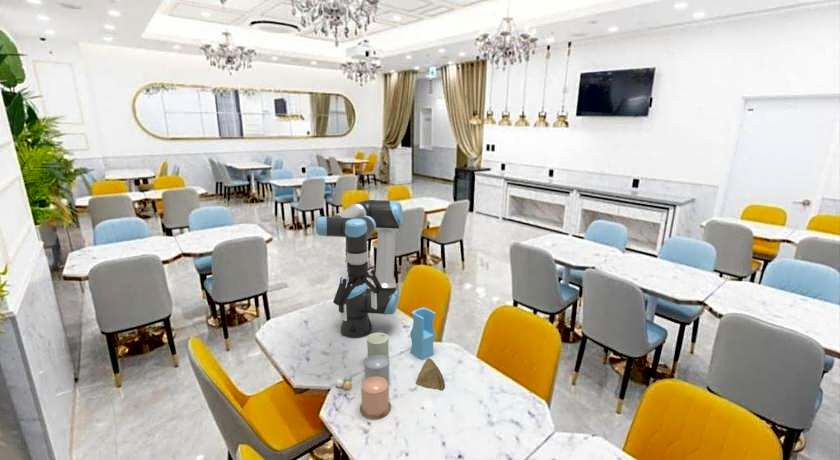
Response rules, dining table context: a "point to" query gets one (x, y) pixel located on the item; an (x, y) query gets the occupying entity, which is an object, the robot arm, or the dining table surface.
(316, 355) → the dining table surface
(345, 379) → the marble teal
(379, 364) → the cup grey
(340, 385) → the marble white
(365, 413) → the coaster
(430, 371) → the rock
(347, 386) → the marble amber
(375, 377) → the cup terracotta
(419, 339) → the blue notched block
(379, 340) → the can
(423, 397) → the dining table surface
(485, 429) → the dining table surface
